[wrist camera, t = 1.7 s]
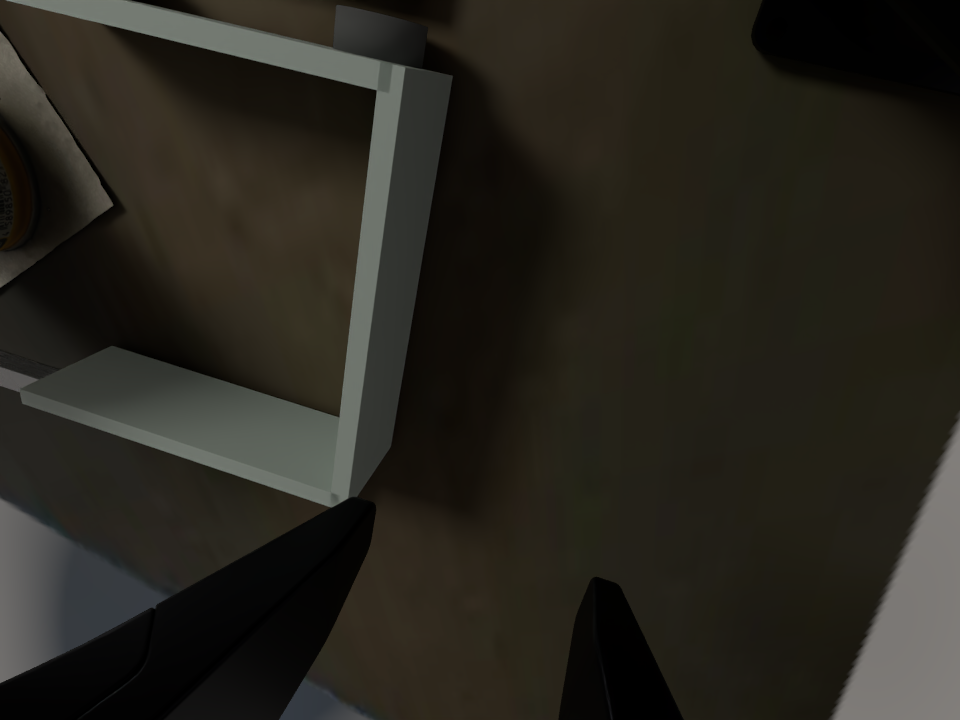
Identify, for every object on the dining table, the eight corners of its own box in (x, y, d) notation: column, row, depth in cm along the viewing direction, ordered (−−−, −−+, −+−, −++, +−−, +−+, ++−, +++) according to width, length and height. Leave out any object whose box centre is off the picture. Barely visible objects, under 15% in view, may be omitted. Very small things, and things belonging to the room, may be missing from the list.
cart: (459, 36, 16) (412, 16, 12) (387, 467, 23) (343, 534, 19) (75, -51, 17) (-68, -92, 14) (115, 379, 24) (26, 426, 20)
